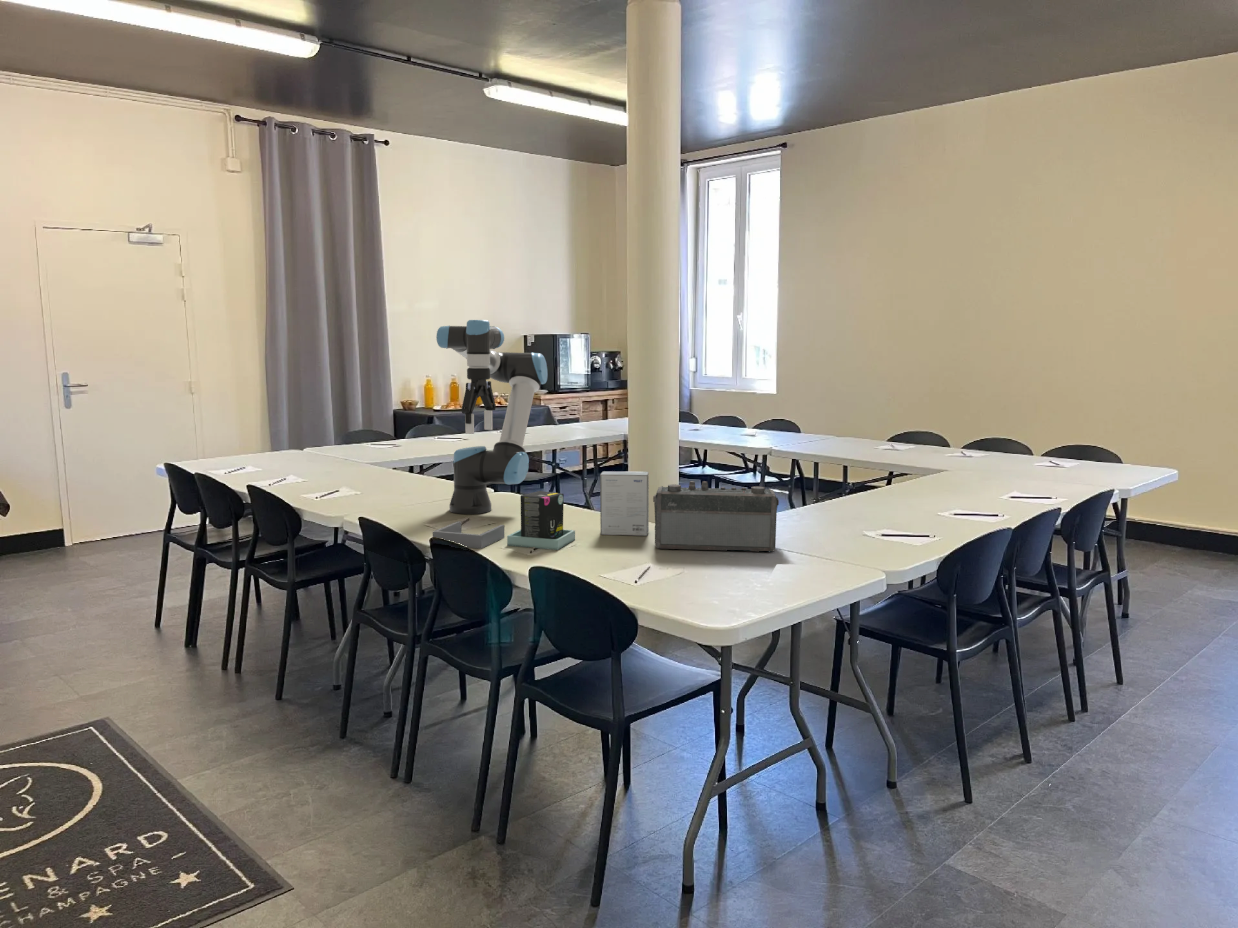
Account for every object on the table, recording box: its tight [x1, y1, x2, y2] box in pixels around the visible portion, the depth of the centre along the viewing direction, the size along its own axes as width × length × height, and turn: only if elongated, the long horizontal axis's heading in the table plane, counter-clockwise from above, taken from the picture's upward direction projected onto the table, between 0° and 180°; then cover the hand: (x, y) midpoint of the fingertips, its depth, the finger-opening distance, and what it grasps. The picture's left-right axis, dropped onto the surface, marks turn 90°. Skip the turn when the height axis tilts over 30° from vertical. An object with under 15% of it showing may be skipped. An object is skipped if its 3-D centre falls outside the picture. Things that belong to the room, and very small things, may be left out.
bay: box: [432, 521, 506, 550], centre depth 277 cm, size 16×16×4 cm
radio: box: [652, 480, 780, 552], centre depth 272 cm, size 38×14×20 cm, turn 85°
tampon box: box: [520, 490, 565, 539], centre depth 275 cm, size 11×9×15 cm
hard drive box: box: [599, 470, 650, 537], centre depth 289 cm, size 16×8×20 cm, turn 84°
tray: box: [506, 528, 576, 551], centre depth 276 cm, size 15×17×3 cm
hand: (479, 431), depth 295 cm, fingers open, 13 cm apart
